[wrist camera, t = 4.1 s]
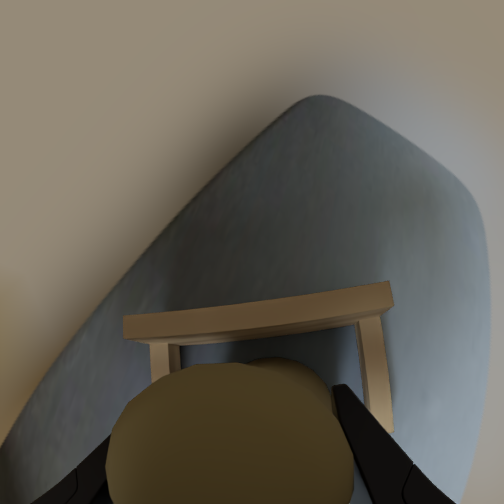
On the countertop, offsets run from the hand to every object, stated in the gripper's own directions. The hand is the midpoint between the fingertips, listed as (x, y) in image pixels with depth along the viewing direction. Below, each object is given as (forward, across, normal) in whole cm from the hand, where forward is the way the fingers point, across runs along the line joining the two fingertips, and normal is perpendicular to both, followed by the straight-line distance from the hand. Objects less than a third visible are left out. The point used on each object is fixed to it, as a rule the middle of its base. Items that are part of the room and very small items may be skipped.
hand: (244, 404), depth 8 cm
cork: (+4, 0, +6) cm, 7 cm away
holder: (+5, 0, +4) cm, 7 cm away
